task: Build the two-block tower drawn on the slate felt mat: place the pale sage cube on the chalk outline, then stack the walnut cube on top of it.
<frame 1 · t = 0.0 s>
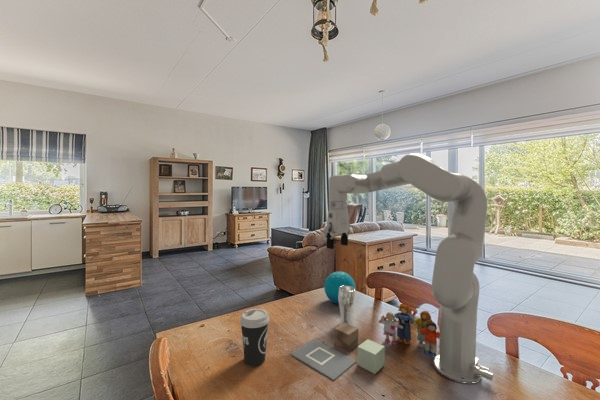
hand: (337, 246, 114), 31 cm above the table, fingers open, 9 cm apart
coffee cup: (254, 360, 88), on the table
sage block: (371, 365, 86), on the table
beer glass: (346, 325, 112), on the table
doll family: (410, 343, 99), on the table
decorative orb: (339, 303, 134), on the table
felt mat: (322, 358, 90), on the table
walnut block: (346, 344, 97), on the table
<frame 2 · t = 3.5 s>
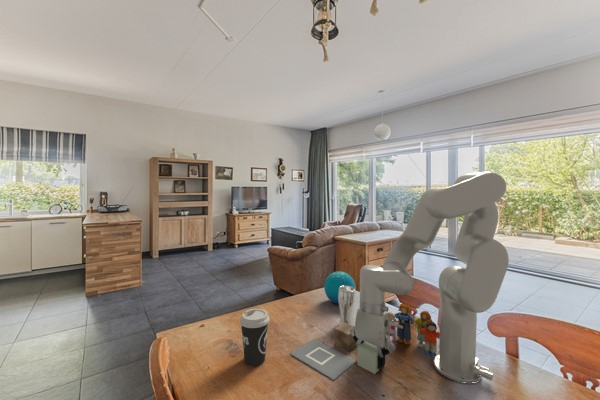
hand: (370, 361, 86), 1 cm above the table, fingers closed on sage block, 6 cm apart
sage block: (370, 364, 86), on the table, touching gripper
everything else where it was.
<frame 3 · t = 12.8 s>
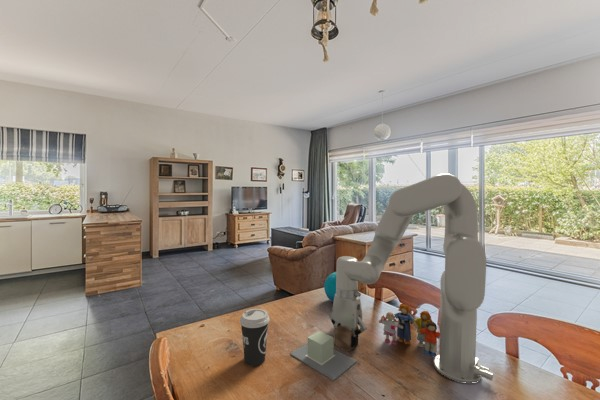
hand: (346, 341, 97), 1 cm above the table, fingers closed on walnut block, 6 cm apart
sage block: (320, 355, 90), resting on felt mat
walnut block: (346, 344, 97), on the table, touching gripper
everything else where it was.
when the fingers open (8 cm above the table, at t = 17.3 s): walnut block stays where it is, resting on sage block.
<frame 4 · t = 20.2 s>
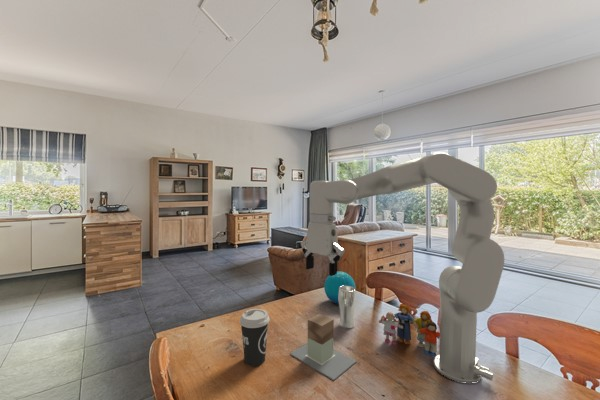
hand: (321, 271, 89), 28 cm above the table, fingers open, 9 cm apart
sage block: (320, 355, 90), resting on felt mat, touching walnut block
walnut block: (320, 337, 90), point 6 cm above the table, touching sage block
everything else where it was.
at the end: sage block inside the target area (0.0 cm from its centre), point 0.5 cm above the table; walnut block 0.0 cm off-centre on the sage block, point 6.0 cm above the sage block's base; walnut block tilted 0° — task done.
